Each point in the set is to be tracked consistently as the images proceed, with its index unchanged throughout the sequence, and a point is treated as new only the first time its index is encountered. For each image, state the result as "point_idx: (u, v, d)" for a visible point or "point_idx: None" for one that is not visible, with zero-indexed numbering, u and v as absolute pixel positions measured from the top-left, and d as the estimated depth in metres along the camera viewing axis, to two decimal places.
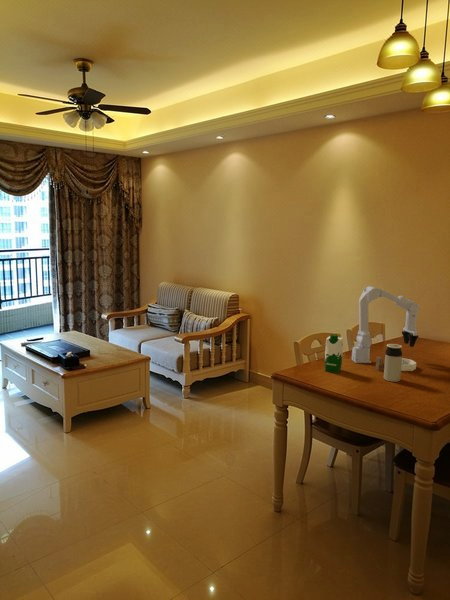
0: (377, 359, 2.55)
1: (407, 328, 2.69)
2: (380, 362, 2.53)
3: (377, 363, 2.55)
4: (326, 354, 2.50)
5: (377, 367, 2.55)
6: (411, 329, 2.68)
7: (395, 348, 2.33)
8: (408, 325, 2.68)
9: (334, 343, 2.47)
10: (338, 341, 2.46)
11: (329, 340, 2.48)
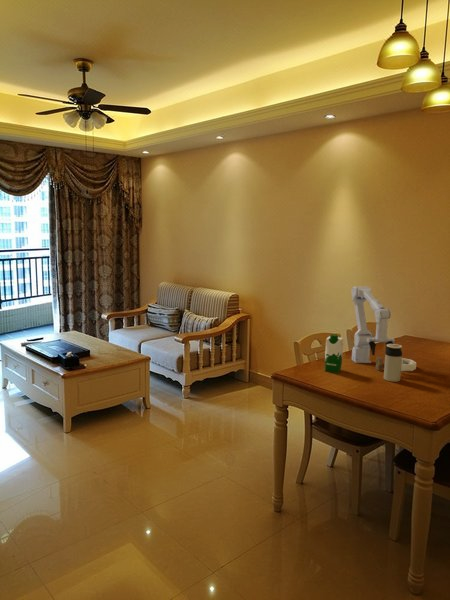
0: (377, 359, 2.55)
1: None
2: (380, 362, 2.53)
3: (377, 363, 2.55)
4: (326, 354, 2.50)
5: (377, 367, 2.55)
6: None
7: (395, 348, 2.33)
8: None
9: (334, 343, 2.47)
10: (338, 341, 2.46)
11: (329, 340, 2.48)
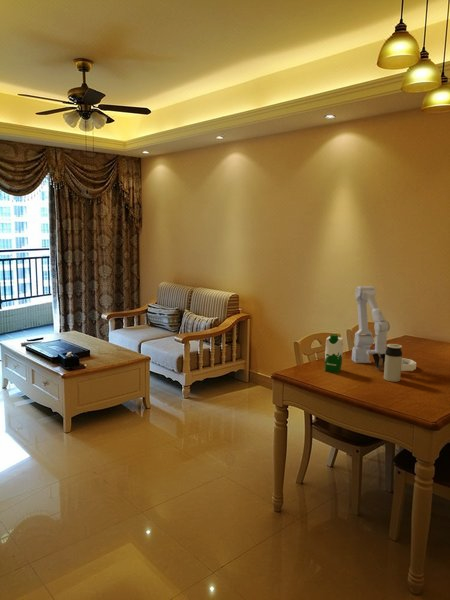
0: None
1: None
2: (380, 362, 2.53)
3: None
4: (326, 354, 2.50)
5: None
6: (375, 349, 2.54)
7: (395, 348, 2.33)
8: None
9: (334, 343, 2.47)
10: (338, 341, 2.46)
11: (329, 340, 2.48)
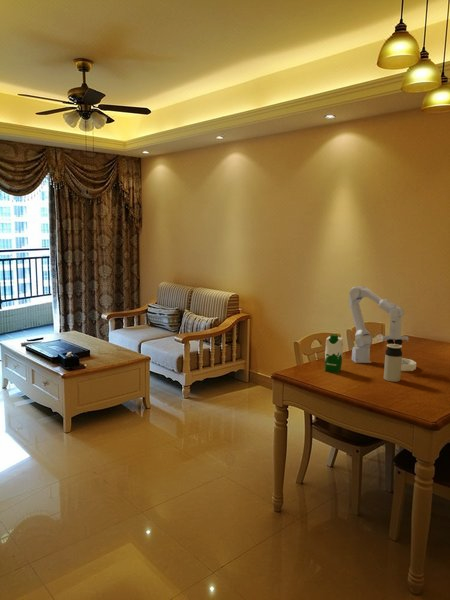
0: None
1: None
2: None
3: None
4: (326, 354, 2.50)
5: None
6: (389, 335, 2.57)
7: (395, 348, 2.33)
8: None
9: (334, 343, 2.47)
10: (338, 341, 2.46)
11: (329, 340, 2.48)
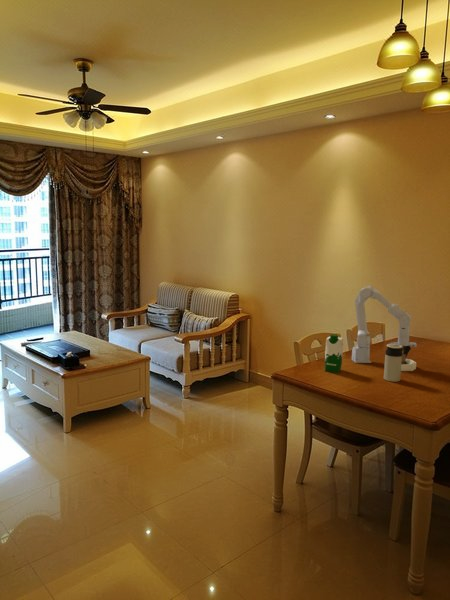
0: None
1: None
2: (403, 358, 2.59)
3: None
4: (326, 354, 2.50)
5: None
6: (398, 341, 2.60)
7: (395, 348, 2.33)
8: None
9: (334, 343, 2.47)
10: (338, 341, 2.46)
11: (329, 340, 2.48)
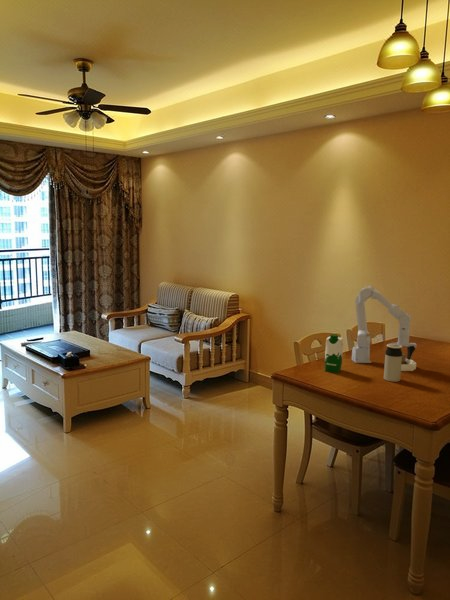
0: None
1: None
2: (403, 358, 2.59)
3: None
4: (326, 354, 2.50)
5: None
6: (398, 341, 2.60)
7: (395, 348, 2.33)
8: None
9: (334, 343, 2.47)
10: (338, 341, 2.46)
11: (329, 340, 2.48)
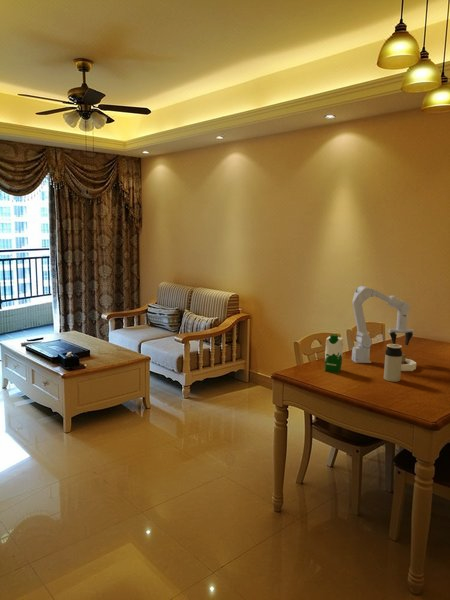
0: None
1: None
2: (403, 358, 2.59)
3: None
4: (326, 354, 2.50)
5: None
6: (396, 328, 2.71)
7: (395, 348, 2.33)
8: None
9: (334, 343, 2.47)
10: (338, 341, 2.46)
11: (329, 340, 2.48)
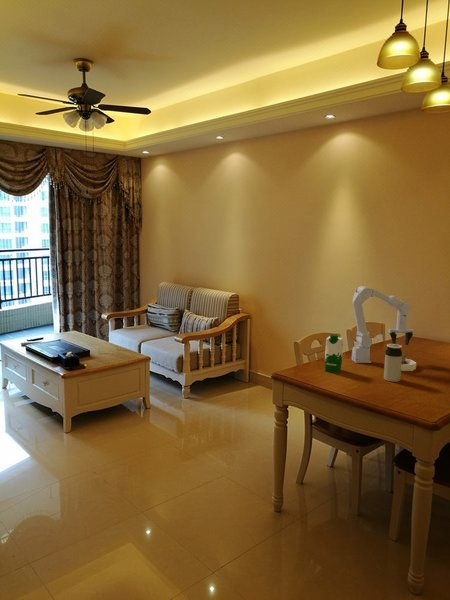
0: None
1: None
2: (403, 358, 2.59)
3: None
4: (326, 354, 2.50)
5: None
6: (396, 328, 2.71)
7: (395, 348, 2.33)
8: None
9: (334, 343, 2.47)
10: (338, 341, 2.46)
11: (329, 340, 2.48)
